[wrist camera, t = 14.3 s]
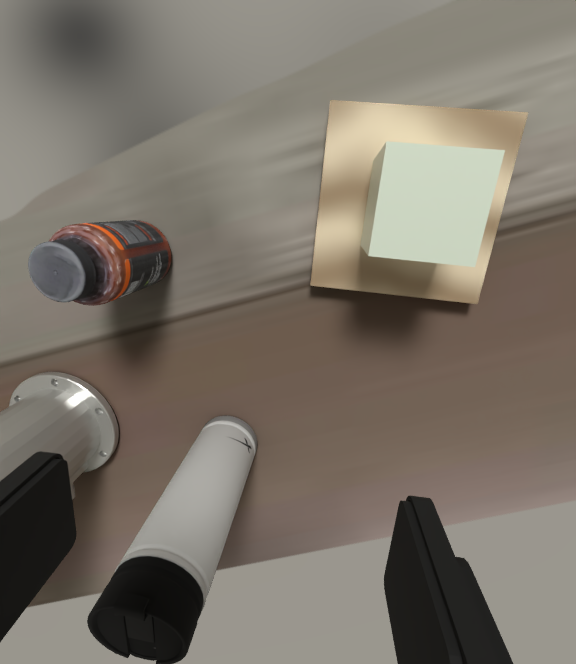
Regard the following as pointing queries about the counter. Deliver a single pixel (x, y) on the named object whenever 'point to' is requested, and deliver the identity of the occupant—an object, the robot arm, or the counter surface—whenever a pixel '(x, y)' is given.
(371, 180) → the pale green block
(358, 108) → the post board
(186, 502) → the travel mug
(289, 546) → the counter surface
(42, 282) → the supplement bottle
